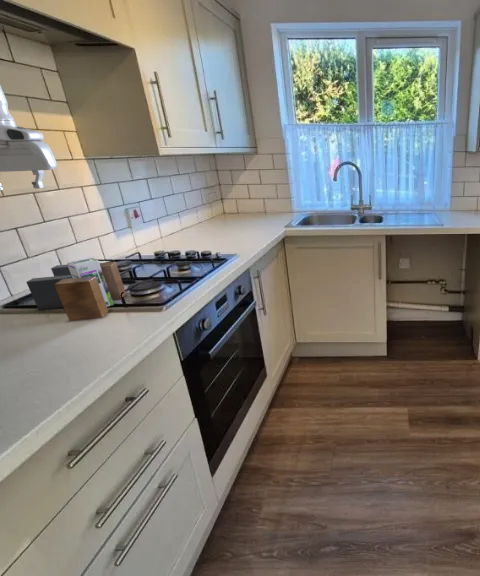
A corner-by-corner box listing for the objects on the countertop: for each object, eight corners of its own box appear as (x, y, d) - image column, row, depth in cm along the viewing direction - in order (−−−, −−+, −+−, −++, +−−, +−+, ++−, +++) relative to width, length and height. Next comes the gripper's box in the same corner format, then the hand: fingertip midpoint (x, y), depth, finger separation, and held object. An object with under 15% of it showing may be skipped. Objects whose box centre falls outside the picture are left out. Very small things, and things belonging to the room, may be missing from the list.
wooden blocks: (69, 321, 99) (54, 284, 95) (98, 296, 115) (86, 264, 110) (102, 317, 101) (88, 281, 97) (126, 294, 116) (115, 261, 112)
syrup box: (92, 312, 104) (74, 265, 99) (83, 308, 107) (65, 261, 102) (114, 305, 109) (98, 259, 103) (105, 301, 112) (89, 256, 106)
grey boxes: (38, 310, 106) (26, 281, 103) (66, 290, 120) (56, 265, 116) (77, 306, 109) (66, 278, 105) (100, 287, 122) (91, 262, 119)
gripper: (-66, 134, 87) (-38, 193, 92) (34, 132, 91) (55, 188, 97) (-44, 134, 93) (-20, 189, 98) (49, 132, 97) (68, 185, 102)
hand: (18, 189), depth 97 cm, fingers open, 8 cm apart
